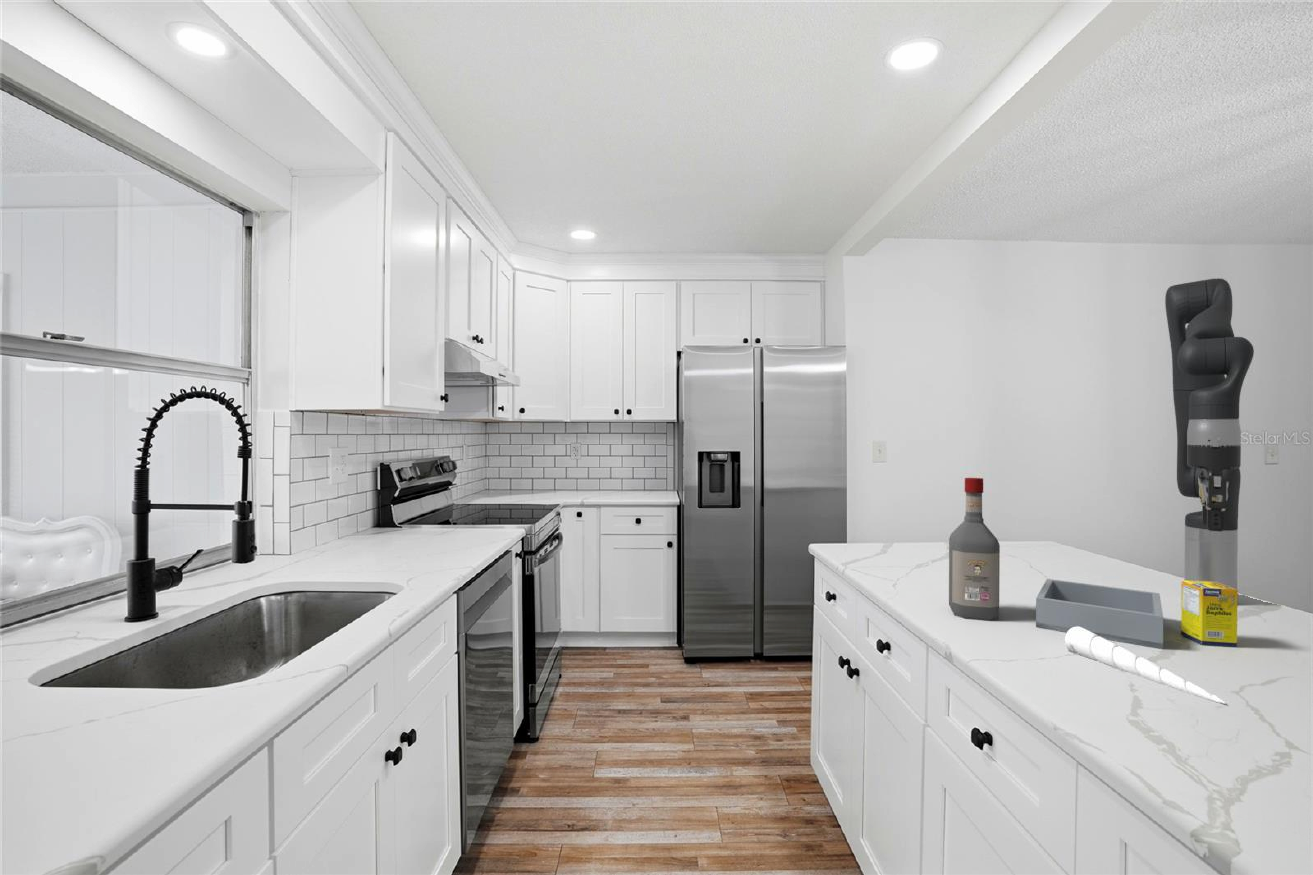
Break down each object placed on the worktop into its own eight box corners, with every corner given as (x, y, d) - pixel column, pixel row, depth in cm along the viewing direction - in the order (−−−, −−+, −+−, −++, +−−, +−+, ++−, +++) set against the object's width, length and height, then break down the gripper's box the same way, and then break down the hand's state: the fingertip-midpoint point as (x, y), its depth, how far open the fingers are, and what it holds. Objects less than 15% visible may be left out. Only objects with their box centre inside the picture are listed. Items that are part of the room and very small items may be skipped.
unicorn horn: (1207, 710, 88) (1207, 677, 88) (1061, 652, 111) (1061, 626, 111) (1231, 706, 89) (1231, 674, 89) (1082, 649, 112) (1082, 624, 112)
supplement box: (1238, 647, 112) (1238, 589, 111) (1200, 645, 113) (1201, 587, 113) (1215, 636, 117) (1216, 581, 117) (1180, 634, 119) (1180, 579, 118)
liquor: (1001, 622, 127) (1002, 480, 126) (953, 617, 130) (954, 479, 129) (992, 609, 135) (992, 477, 135) (947, 605, 138) (948, 476, 138)
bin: (1046, 604, 139) (1047, 578, 139) (1159, 621, 127) (1159, 593, 126) (1035, 627, 123) (1036, 598, 123) (1162, 649, 111) (1163, 616, 111)
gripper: (1184, 442, 122) (1183, 521, 122) (1190, 443, 111) (1189, 531, 111) (1235, 442, 118) (1234, 524, 118) (1246, 444, 106) (1245, 535, 107)
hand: (1212, 527), depth 115 cm, fingers open, 8 cm apart
